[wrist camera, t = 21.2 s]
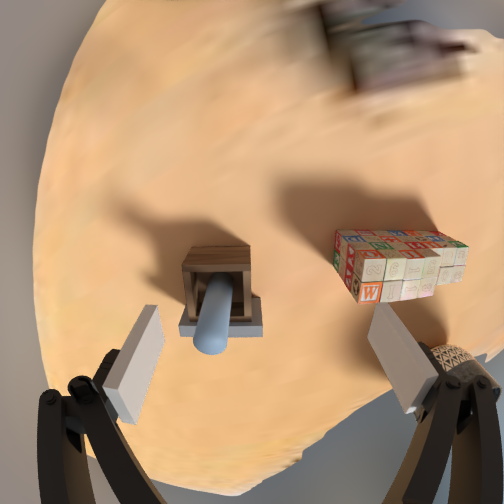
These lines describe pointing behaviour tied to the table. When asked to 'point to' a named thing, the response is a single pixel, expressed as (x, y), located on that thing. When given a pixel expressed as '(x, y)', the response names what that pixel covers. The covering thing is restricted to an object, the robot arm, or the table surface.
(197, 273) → the slider block
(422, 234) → the stack of blocks
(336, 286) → the table surface
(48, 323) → the table surface
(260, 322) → the wall
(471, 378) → the planter
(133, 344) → the robot arm
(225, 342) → the dowel
